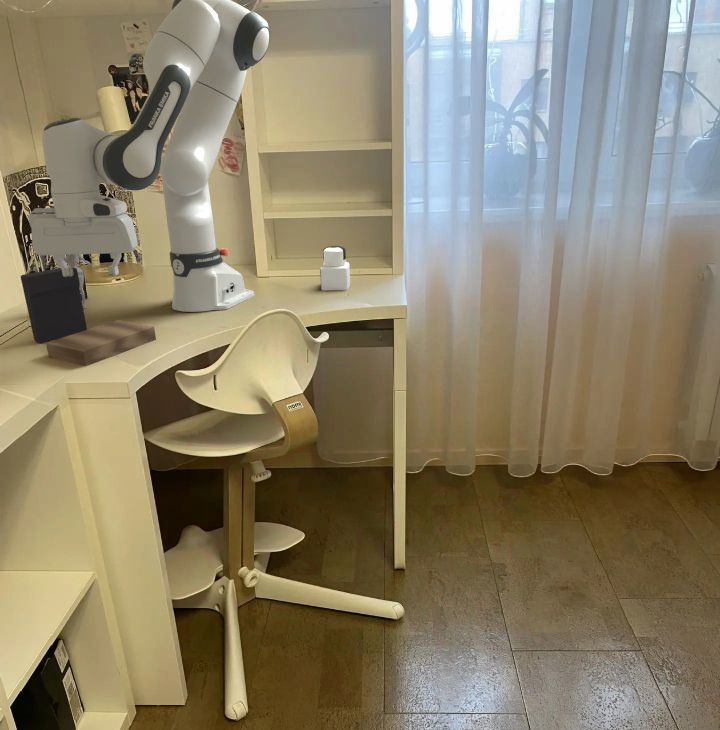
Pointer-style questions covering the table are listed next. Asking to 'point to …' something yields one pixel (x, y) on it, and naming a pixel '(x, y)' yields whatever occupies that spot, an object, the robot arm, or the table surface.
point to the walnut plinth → (100, 342)
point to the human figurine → (73, 263)
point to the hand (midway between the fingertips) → (91, 275)
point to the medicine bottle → (335, 269)
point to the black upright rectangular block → (53, 304)
